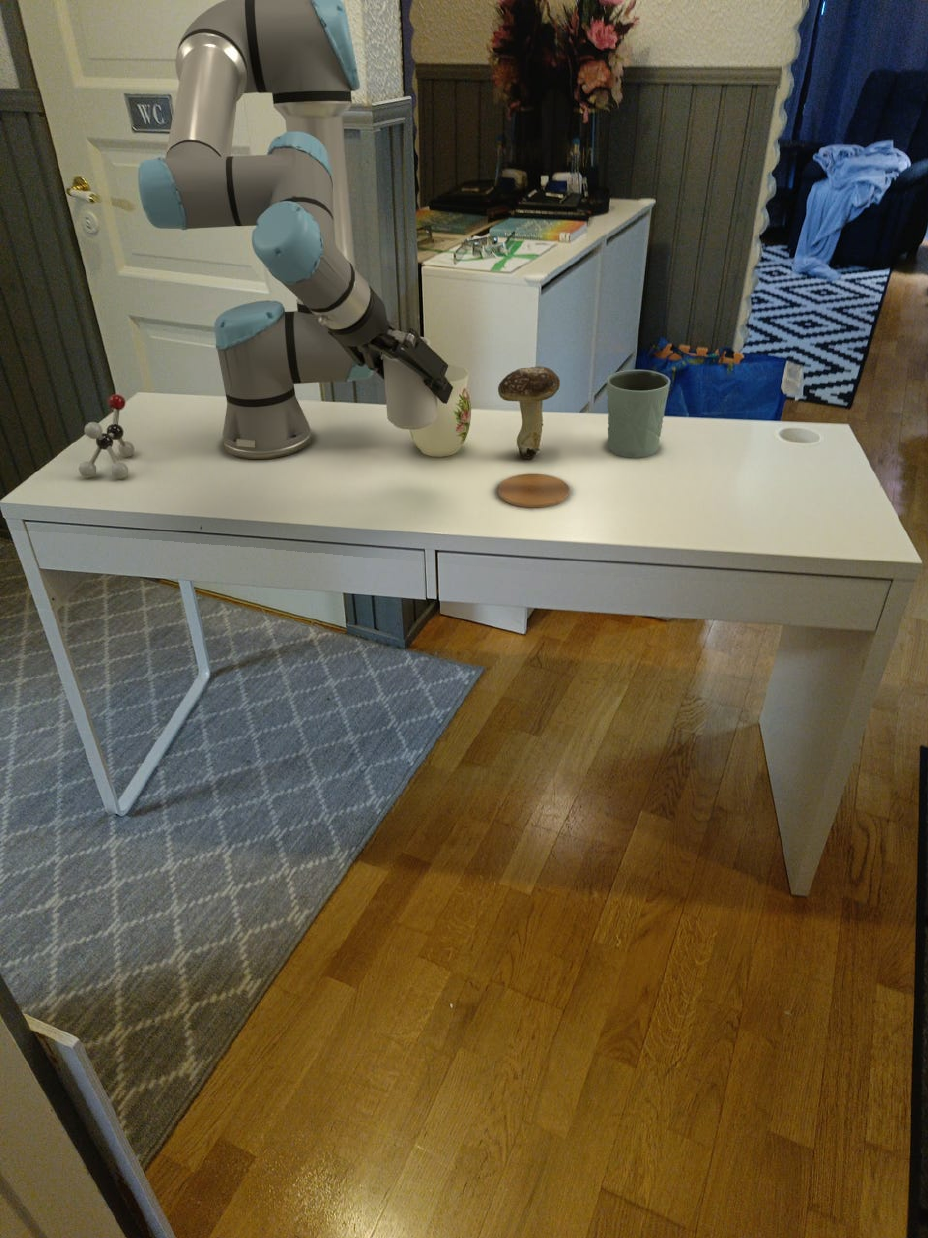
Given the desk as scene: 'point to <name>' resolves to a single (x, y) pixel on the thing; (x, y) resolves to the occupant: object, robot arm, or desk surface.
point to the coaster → (533, 490)
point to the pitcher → (447, 419)
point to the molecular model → (108, 442)
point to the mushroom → (529, 403)
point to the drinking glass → (636, 411)
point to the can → (408, 396)
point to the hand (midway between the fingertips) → (424, 390)
